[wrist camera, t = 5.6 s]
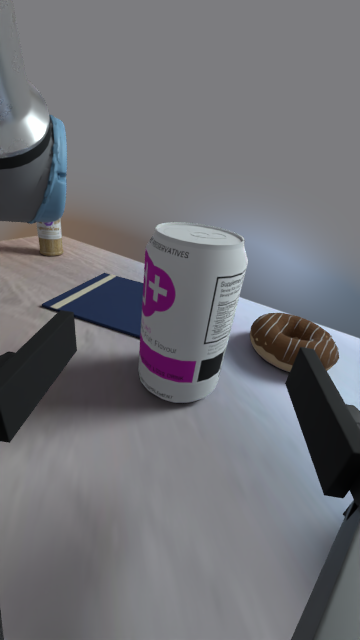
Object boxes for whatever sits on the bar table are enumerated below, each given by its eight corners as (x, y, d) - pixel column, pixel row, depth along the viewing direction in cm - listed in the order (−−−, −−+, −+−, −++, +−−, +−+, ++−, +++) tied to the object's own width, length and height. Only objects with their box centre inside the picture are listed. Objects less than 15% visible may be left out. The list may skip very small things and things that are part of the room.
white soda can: (146, 413, 24) (160, 245, 17) (133, 356, 31) (140, 217, 24) (228, 402, 27) (273, 250, 19) (200, 351, 33) (225, 224, 26)
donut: (230, 335, 38) (237, 309, 36) (290, 327, 42) (299, 304, 40) (282, 390, 29) (295, 361, 27) (351, 374, 33) (366, 347, 31)
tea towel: (42, 306, 38) (41, 303, 38) (104, 274, 51) (104, 272, 50) (175, 349, 33) (175, 347, 33) (208, 302, 46) (208, 300, 45)
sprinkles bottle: (43, 257, 54) (33, 182, 48) (37, 250, 57) (27, 179, 51) (66, 255, 57) (60, 184, 50) (60, 249, 60) (53, 180, 53)
